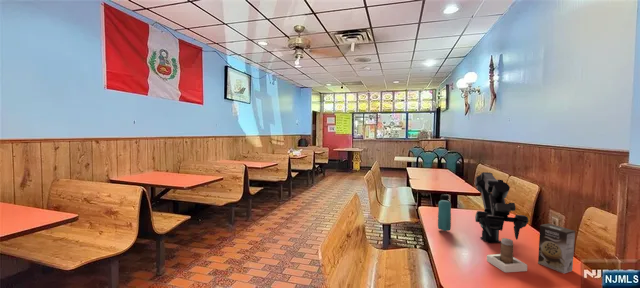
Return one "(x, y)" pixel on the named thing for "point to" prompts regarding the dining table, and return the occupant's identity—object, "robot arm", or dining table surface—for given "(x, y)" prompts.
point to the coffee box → (556, 247)
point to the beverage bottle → (444, 213)
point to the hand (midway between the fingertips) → (503, 237)
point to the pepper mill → (506, 251)
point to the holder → (514, 267)
